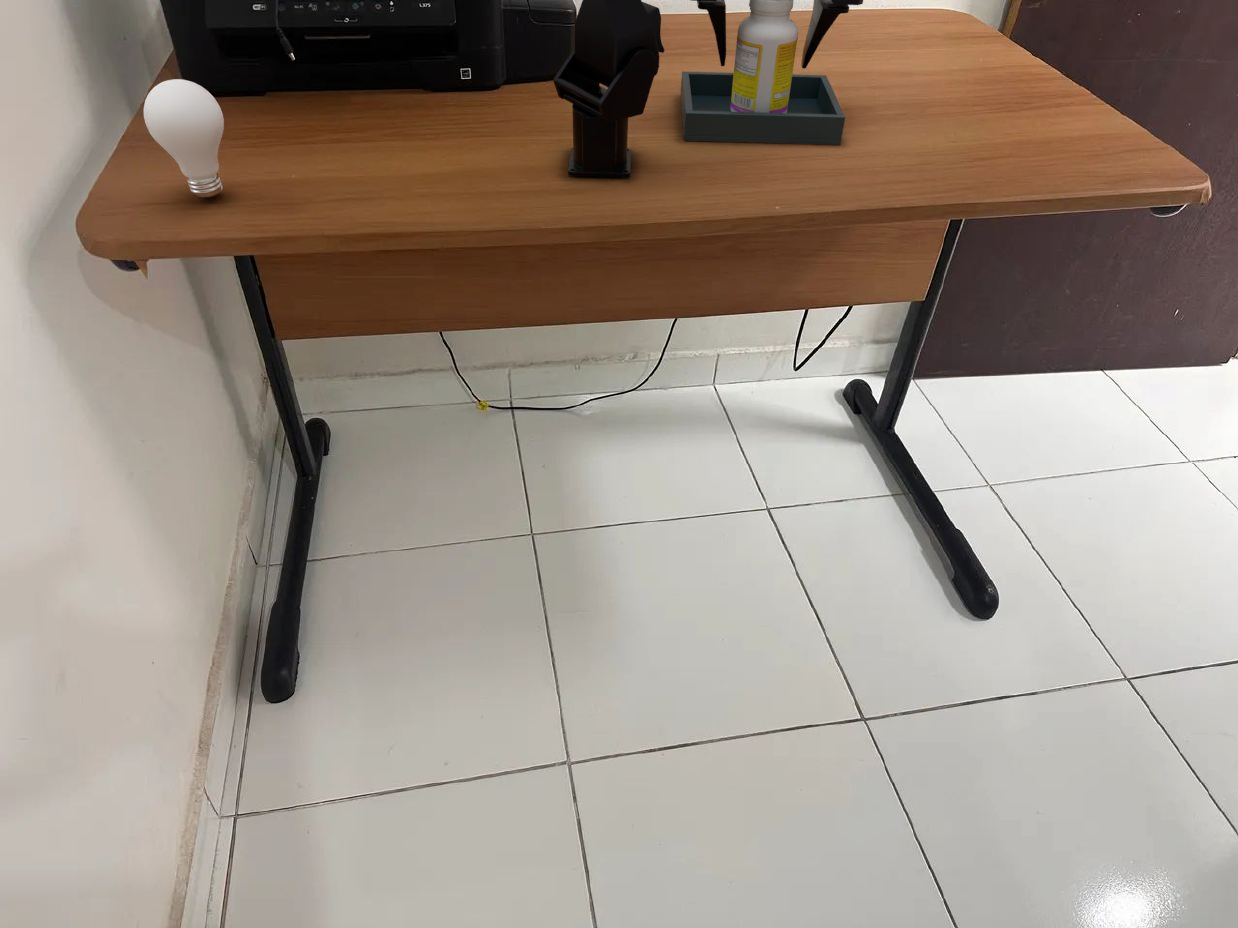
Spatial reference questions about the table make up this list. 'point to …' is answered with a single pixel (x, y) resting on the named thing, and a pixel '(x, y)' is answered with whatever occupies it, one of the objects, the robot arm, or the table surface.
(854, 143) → the table surface
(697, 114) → the tray
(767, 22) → the supplement bottle
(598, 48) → the robot arm
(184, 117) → the light bulb
